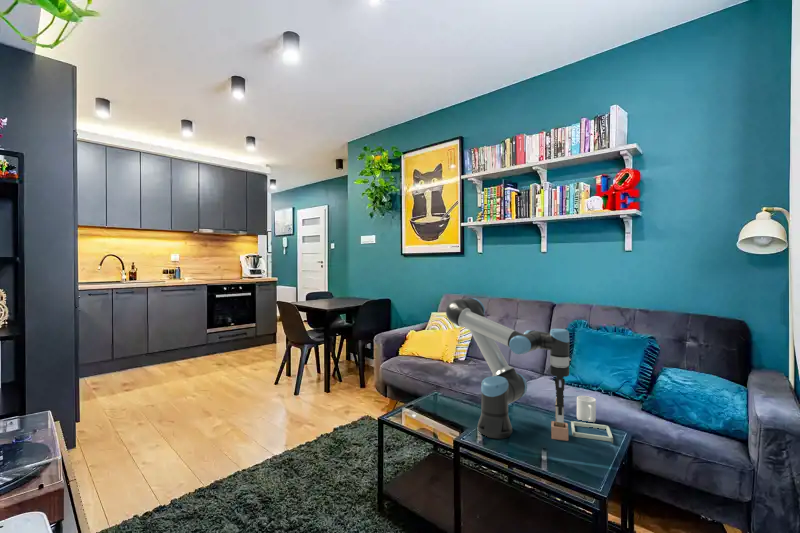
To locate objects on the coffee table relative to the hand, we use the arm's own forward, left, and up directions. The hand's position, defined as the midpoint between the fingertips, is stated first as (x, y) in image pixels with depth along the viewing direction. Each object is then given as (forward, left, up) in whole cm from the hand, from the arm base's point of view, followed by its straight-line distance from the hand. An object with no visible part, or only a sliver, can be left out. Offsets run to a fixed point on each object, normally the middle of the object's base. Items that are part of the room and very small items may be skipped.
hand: (559, 417), depth 170 cm
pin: (0, 0, -8) cm, 8 cm away
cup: (+13, +25, -10) cm, 30 cm away
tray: (+13, +9, -9) cm, 18 cm away
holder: (0, 0, -9) cm, 9 cm away
